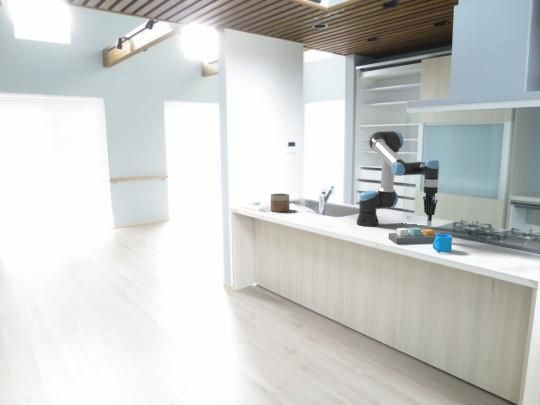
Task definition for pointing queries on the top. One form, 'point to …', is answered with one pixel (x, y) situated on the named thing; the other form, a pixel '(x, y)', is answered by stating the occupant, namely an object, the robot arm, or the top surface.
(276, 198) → the planter
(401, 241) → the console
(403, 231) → the button white
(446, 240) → the mug
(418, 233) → the button teal
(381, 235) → the top surface
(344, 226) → the top surface
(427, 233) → the button orange
